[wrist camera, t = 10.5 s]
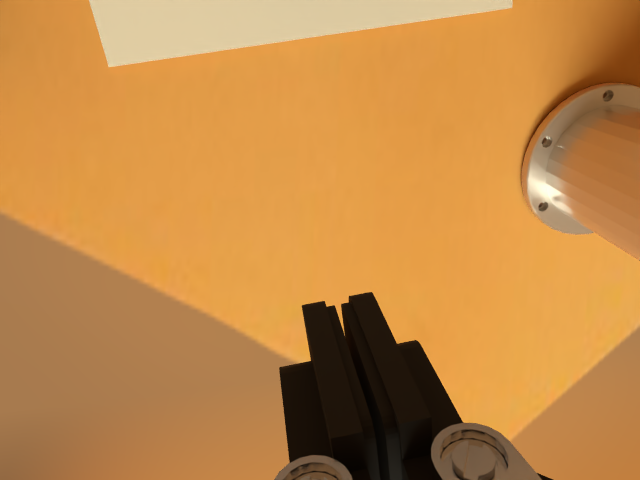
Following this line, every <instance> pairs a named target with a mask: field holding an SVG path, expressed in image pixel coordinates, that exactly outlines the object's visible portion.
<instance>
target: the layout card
mask: <svg viewBox="0 0 640 480" xmlns="http://www.w3.org/2000/svg"><path fill="white" fill-rule="evenodd" d="M89 2H90V5H91V8H92V12H93V15H94V19H95V22H96V25H97V29H98V32H99V35H100V39H101V42H102V45H103V49H104V52H105V55H106V59H107V62H108V65H109V67H113V66H120V65H127V64H134V63H140V62H147V61H154V60H161V59H168V58H174V57H181V56H188V55H195V54H202V53H208V52H215V51H222V50H229V49H236V48H242V47H249V46H256V45H263V44H270V43H276V42H283V41H290V40H297V39H304V38H310V37H317V36H324V35H331V34H338V33H345V32H351V31H358V30H365V29H372V28H379V27H385V26H392V25H399V24H406V23H413V22H419V21H426V20H433V19H440V18H447V17H453V16H460V15H467V14H474V13H481V12H487V11H494V10H501V9H508V8H512V0H89Z"/></svg>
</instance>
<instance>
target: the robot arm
mask: <svg viewBox="0 0 640 480" xmlns="http://www.w3.org/2000/svg"><path fill="white" fill-rule="evenodd" d="M542 140H543V141H542ZM521 183H522V189H523V195H524V197H525V200H526V202H527V205H528V207H529V208H530V210H531V211H532V212H533V214H534V215H535V216H536V217H537V218H538V219H539V220H541V221H542V222H543V223H544V224H546V225H547V226H549V227H551V228H552V229H554V230H557V231H559V232H562V233H566V234H574V235H581V234H591V233H596V234H598V235H599V236H601V237H602V238H604V239H606V240H607V241H609V242H610V243H612V244H614V245H615V246H617V247H618V248H620V249H622V250H623V251H625V252H627V253H628V254H630V255H631V256H633V257H635V258H636V259H638V260H639V261H640V87H637V86H634V85H630V84H624V83H603V84H599V85H595V86H590V87H588V88H586V89H583V90H581V91H579V92H577V93H575V94H573V95H572V96H570V97H569V98H567V99H566V100H564V101H563V102H561V103H560V104H559V105H558V106H557V107H556V108H555V109H554V110H552V111H551V112H550V113H549V114H548V116H547V117H546V118H545V119H544V121H543V122H542V123H541V124H540V125H539V127H538V129H537V130H536V132H535V134H534V135H533V137H532V139H531V141H530V143H529V146H528V148H527V151H526V153H525V157H524V161H523V166H522V180H521ZM341 308H342V316H343V324H344V332H345V336H344V332H343V329H342V326H341V323H340V320H339V317H338V314H337V311H336V308H335V306H328V307H326V304H325V301H322V302H316V303H311V304H306V305H302V310H303V316H304V322H305V327H306V333H307V339H308V345H309V351H310V357H311V361H309V362H304V363H299V364H294V365H289V366H284V367H280V368H279V369H280V380H281V389H282V398H283V407H284V415H285V425H286V433H287V442H288V451H289V460H290V463H289V464H288V465H287V466H286V467H284V468H283V469H282V470H281V471H280V472H279V473H278V475H277V476H276V478H275V480H553V479H550V478H548V477H545V476H543V475H541V474H538V473H536V472H535V471H534V470H533V468H532V467H531V466H530V465H529V464H528V463H527V462H526V460H525V459H524V458H523V457H522V455H521V454H520V453H519V452H518V451H517V450H516V449H515V447H514V446H513V445H512V444H511V442H510V441H509V440H507V439H506V438H505V437H504V436H503V435H502V434H501V433H499V432H498V431H496V430H494V429H492V428H490V427H488V426H484V425H480V424H477V423H463V422H462V420H461V418H460V416H459V414H458V413H457V411H456V409H455V407H454V405H453V403H452V402H451V400H450V398H449V396H448V394H447V392H446V390H445V389H444V387H443V385H442V383H441V381H440V379H439V378H438V376H437V374H436V372H435V370H434V368H433V367H432V365H431V363H430V361H429V359H428V357H427V356H426V354H425V352H424V350H423V348H422V346H421V345H420V343H419V342H418V341H417V340H414V341H409V342H404V343H399V344H397V343H396V341H395V339H394V337H393V335H392V333H391V330H390V328H389V326H388V324H387V322H386V320H385V318H384V316H383V314H382V312H381V309H380V307H379V305H378V303H377V301H376V299H375V297H374V295H373V293H372V292H369V293H364V294H358V295H353V296H349V303H344V304H341Z"/></svg>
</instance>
